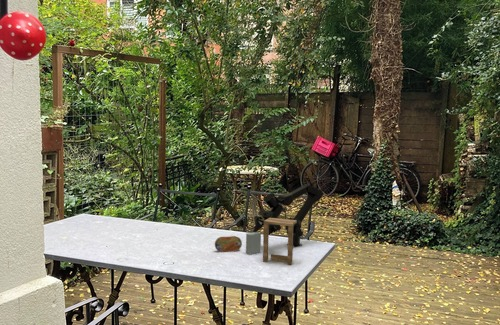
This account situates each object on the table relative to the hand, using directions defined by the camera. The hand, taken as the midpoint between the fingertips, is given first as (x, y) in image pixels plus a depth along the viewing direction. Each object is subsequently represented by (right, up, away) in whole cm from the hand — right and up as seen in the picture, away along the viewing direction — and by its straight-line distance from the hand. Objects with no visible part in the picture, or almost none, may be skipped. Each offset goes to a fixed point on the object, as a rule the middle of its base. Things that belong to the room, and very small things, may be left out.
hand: (258, 234), depth 254 cm
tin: (-17, -10, +2) cm, 20 cm away
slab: (-3, -10, -1) cm, 10 cm away
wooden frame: (+11, -11, -14) cm, 21 cm away
